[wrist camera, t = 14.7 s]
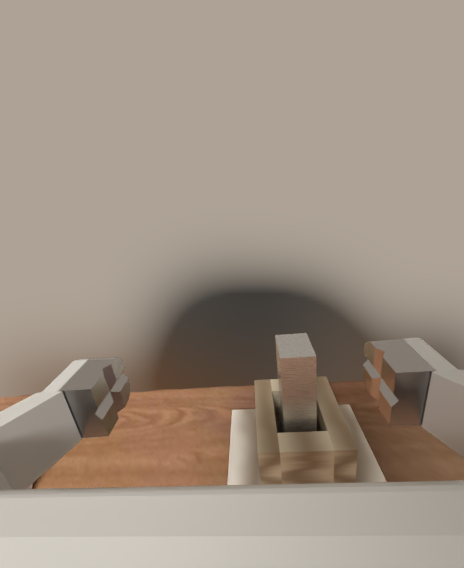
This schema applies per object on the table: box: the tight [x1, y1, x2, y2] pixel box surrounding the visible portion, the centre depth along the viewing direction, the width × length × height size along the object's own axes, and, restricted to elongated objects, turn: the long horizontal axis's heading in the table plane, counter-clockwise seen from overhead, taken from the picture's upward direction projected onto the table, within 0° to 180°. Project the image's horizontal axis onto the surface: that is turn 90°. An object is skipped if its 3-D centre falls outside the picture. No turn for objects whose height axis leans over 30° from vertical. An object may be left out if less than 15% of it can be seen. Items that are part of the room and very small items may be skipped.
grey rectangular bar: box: [275, 333, 317, 433], centre depth 34 cm, size 4×5×16 cm
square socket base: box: [227, 376, 387, 485], centre depth 36 cm, size 20×16×9 cm
